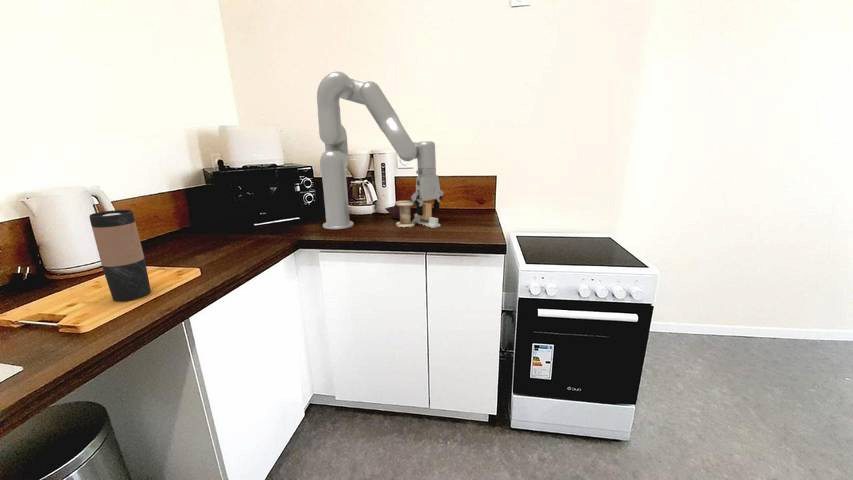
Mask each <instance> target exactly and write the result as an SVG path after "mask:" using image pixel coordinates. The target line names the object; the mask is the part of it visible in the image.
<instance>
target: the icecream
mask: <svg viewBox="0 0 853 480" xmlns="http://www.w3.org/2000/svg"><path fill="white" fill-rule="evenodd" d="M384 210H385V211H387V212H388V213H389V214H390V217H391V218H392V219H393V220H395V219H396V220H400V206H396V205H395V204H394V206H389V207H385V208H384Z"/></svg>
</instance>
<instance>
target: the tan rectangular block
mask: <svg viewBox="0 0 853 480" xmlns="http://www.w3.org/2000/svg"><path fill="white" fill-rule="evenodd" d="M432 204H433V203H429V202H423V203H422V205H421V206H423V216H420V222H423V223H429V217H433V216H432V215H433V213H432V210H433V209H432Z"/></svg>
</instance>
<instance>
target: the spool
mask: <svg viewBox="0 0 853 480" xmlns="http://www.w3.org/2000/svg"><path fill="white" fill-rule="evenodd" d="M395 205H396V206H400V219H399V221H397V222H396V223H395V227H397V228H400V227H403V229H406V228H405V227H409V228H413V227H415V226H416V223H415V222H412V221H411V207H413V206H415V204H414V203H413V201H412V200H397V201H394V206H395Z"/></svg>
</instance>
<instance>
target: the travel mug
mask: <svg viewBox="0 0 853 480" xmlns="http://www.w3.org/2000/svg"><path fill="white" fill-rule="evenodd" d="M89 222H90V225H91V229H92V232H93V236H94V241H95V245H96V249H97V252H98V256H99V261H100V263H101V267H102V270H103V273H104V276H105V280H106V282H107V287H108V289H109V292H110V294H111V297H112V300H113V301H114V302H118V303H121V302H130V301H135V300H138V299H141V298H145V297H146V296H148V295H149V294H150V293H151V291H152V290H151V289H152V288H151V285H150V280H149V274H148V269H147V264H146V263H147V262H146V259H145V254H144V251H143V245H142V243H141V238H140V234H139V231H138V227H137V222H136V219H135V216H134V212H133V210H130V209H117V210H116V209H115V210H105V211H99V212H94V213H91V214H90V215H89Z"/></svg>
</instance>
